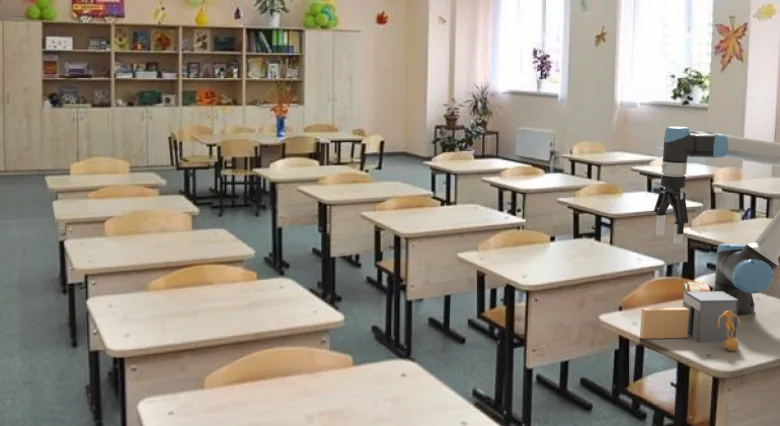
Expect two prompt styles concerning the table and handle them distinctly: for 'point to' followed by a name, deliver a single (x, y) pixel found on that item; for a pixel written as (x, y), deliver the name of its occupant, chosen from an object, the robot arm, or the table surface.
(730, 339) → the figurine
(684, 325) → the light orange rectangular block
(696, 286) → the stack of blocks
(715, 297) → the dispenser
